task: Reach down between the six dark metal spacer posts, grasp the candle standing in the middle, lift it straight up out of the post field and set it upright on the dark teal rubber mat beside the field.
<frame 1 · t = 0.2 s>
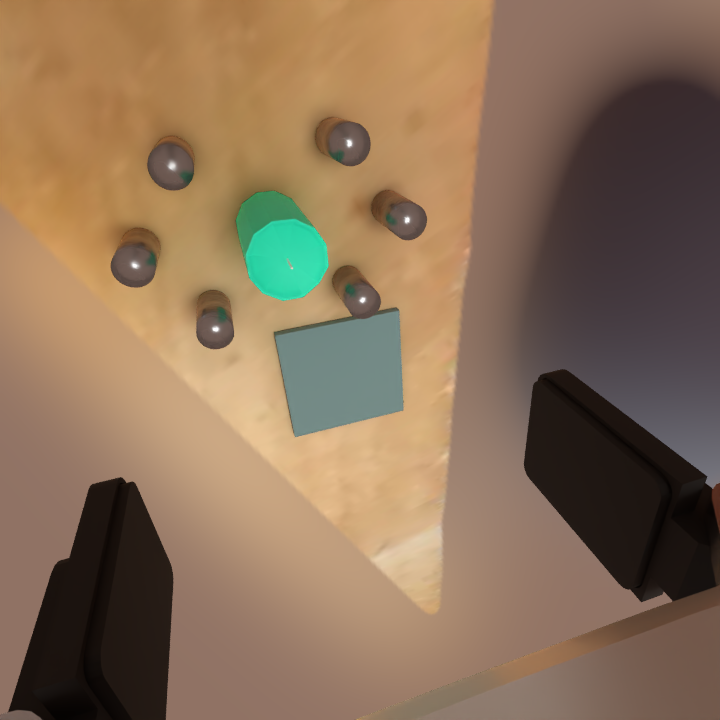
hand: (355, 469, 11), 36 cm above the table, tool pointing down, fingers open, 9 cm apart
mat: (343, 372, 53), on the table
candle: (269, 224, 43), on the table
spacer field: (270, 225, 43), on the table
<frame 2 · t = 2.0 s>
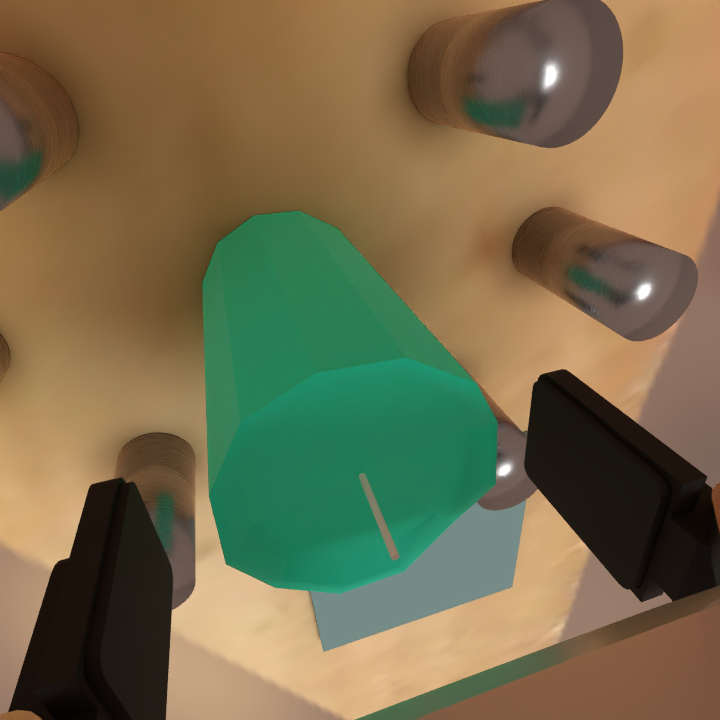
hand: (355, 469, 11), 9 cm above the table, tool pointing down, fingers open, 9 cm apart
mat: (415, 543, 28), on the table
candle: (285, 289, 18), on the table
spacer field: (286, 291, 18), on the table
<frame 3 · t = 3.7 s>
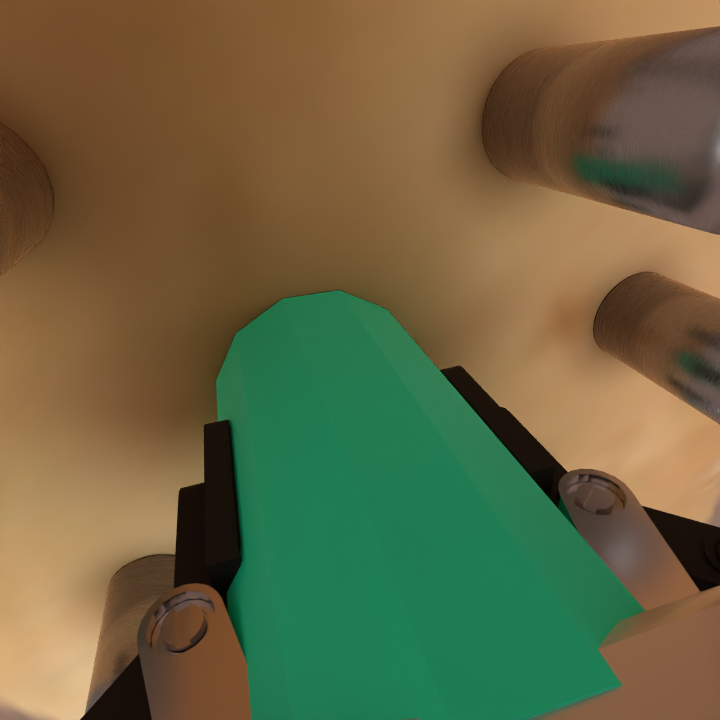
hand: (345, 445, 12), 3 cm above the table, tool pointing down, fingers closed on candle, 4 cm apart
candle: (319, 381, 15), on the table, touching gripper
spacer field: (320, 384, 14), on the table
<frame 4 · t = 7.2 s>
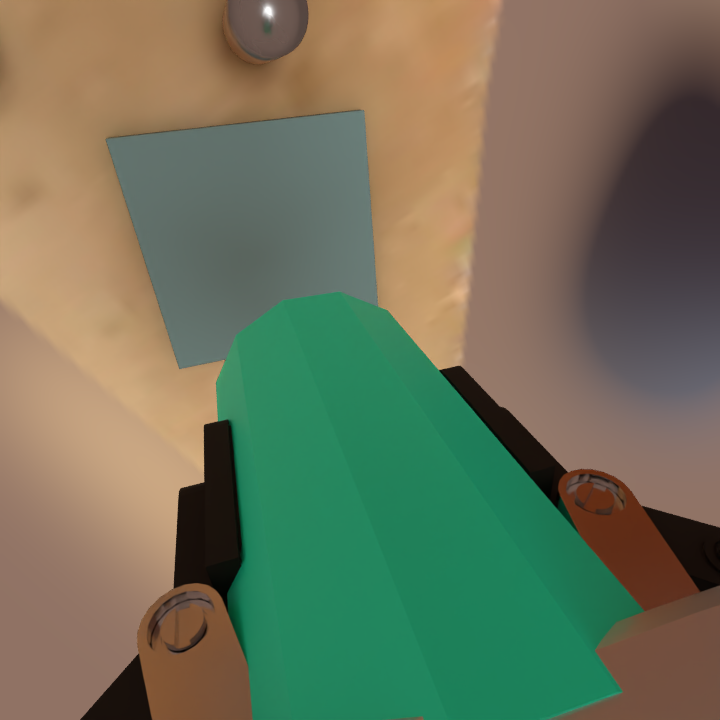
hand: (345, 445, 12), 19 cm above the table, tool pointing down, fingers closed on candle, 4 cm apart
mat: (263, 245, 28), on the table
candle: (319, 383, 15), point 16 cm above the table, touching gripper
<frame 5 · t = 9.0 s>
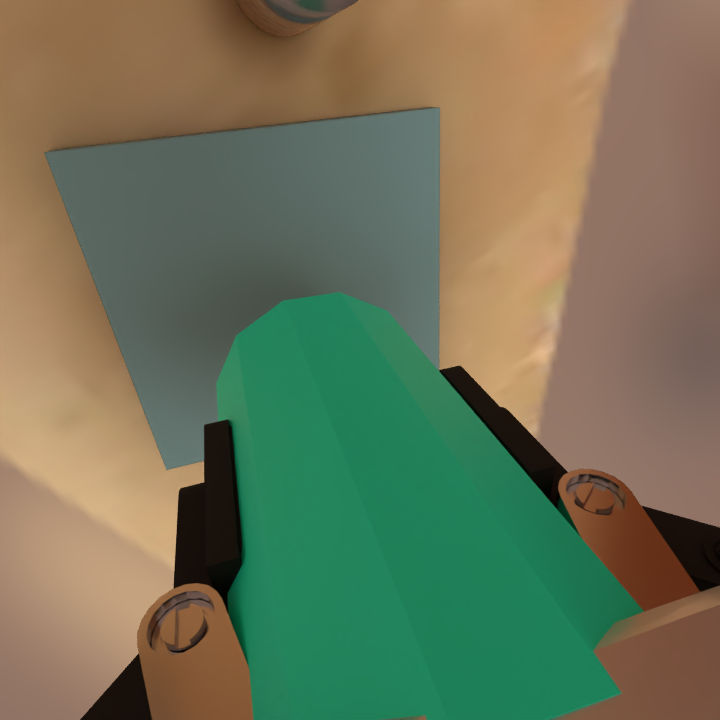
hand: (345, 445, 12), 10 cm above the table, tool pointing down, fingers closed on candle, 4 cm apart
mat: (285, 300, 20), on the table
candle: (319, 383, 14), point 7 cm above the table, touching gripper
when the fingers open (5 cm above the table, at t = 10.7 s): candle drops 1 cm, resting on mat.
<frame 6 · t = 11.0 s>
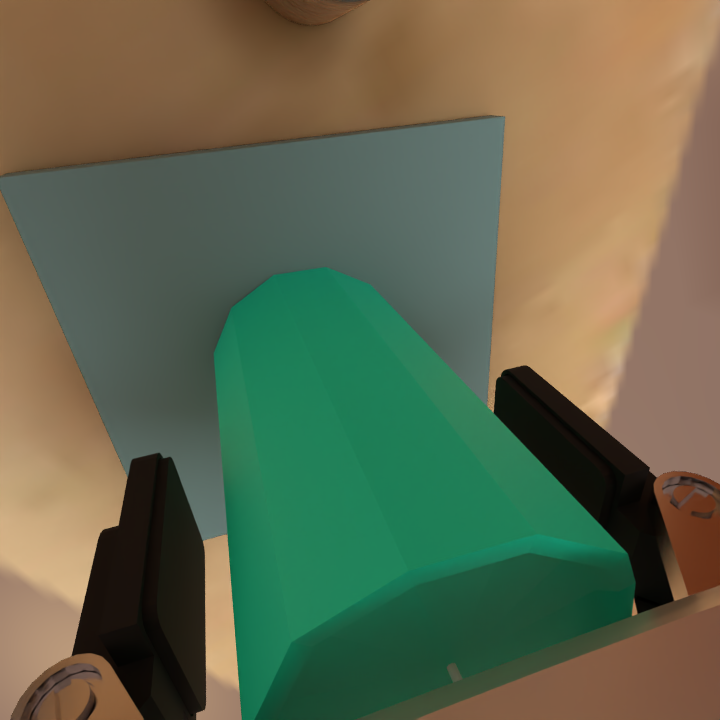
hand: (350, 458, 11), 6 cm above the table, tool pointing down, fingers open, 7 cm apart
mat: (306, 350, 16), on the table
candle: (309, 354, 16), point 1 cm above the table, touching mat
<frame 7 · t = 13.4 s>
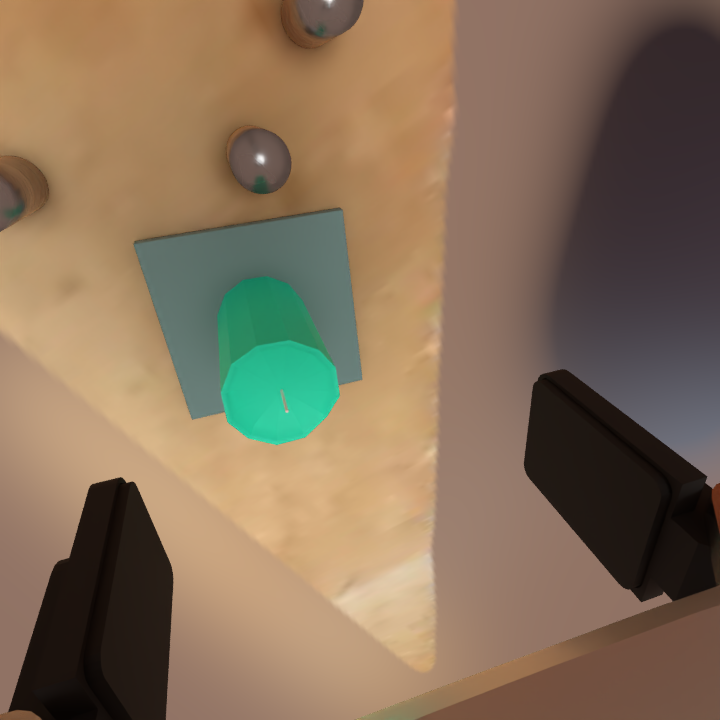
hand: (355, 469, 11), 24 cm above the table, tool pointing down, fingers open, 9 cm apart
mat: (261, 316, 34), on the table
candle: (262, 317, 33), point 1 cm above the table, touching mat
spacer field: (98, 34, 25), on the table
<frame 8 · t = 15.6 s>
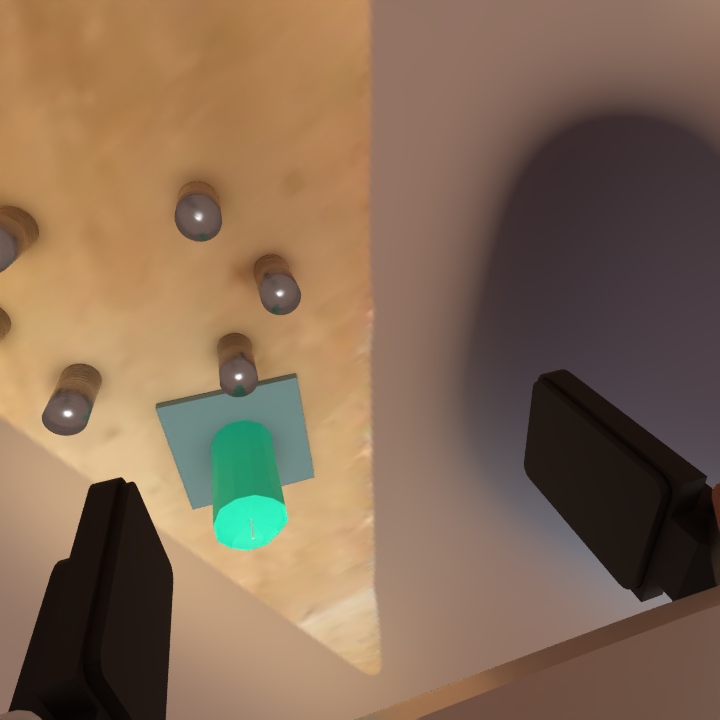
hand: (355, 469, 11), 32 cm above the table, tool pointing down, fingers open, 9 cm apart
mat: (242, 441, 49), on the table
candle: (242, 443, 48), point 1 cm above the table, touching mat
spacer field: (137, 295, 39), on the table
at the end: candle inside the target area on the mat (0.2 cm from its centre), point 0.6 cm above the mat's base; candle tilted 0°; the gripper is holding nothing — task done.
